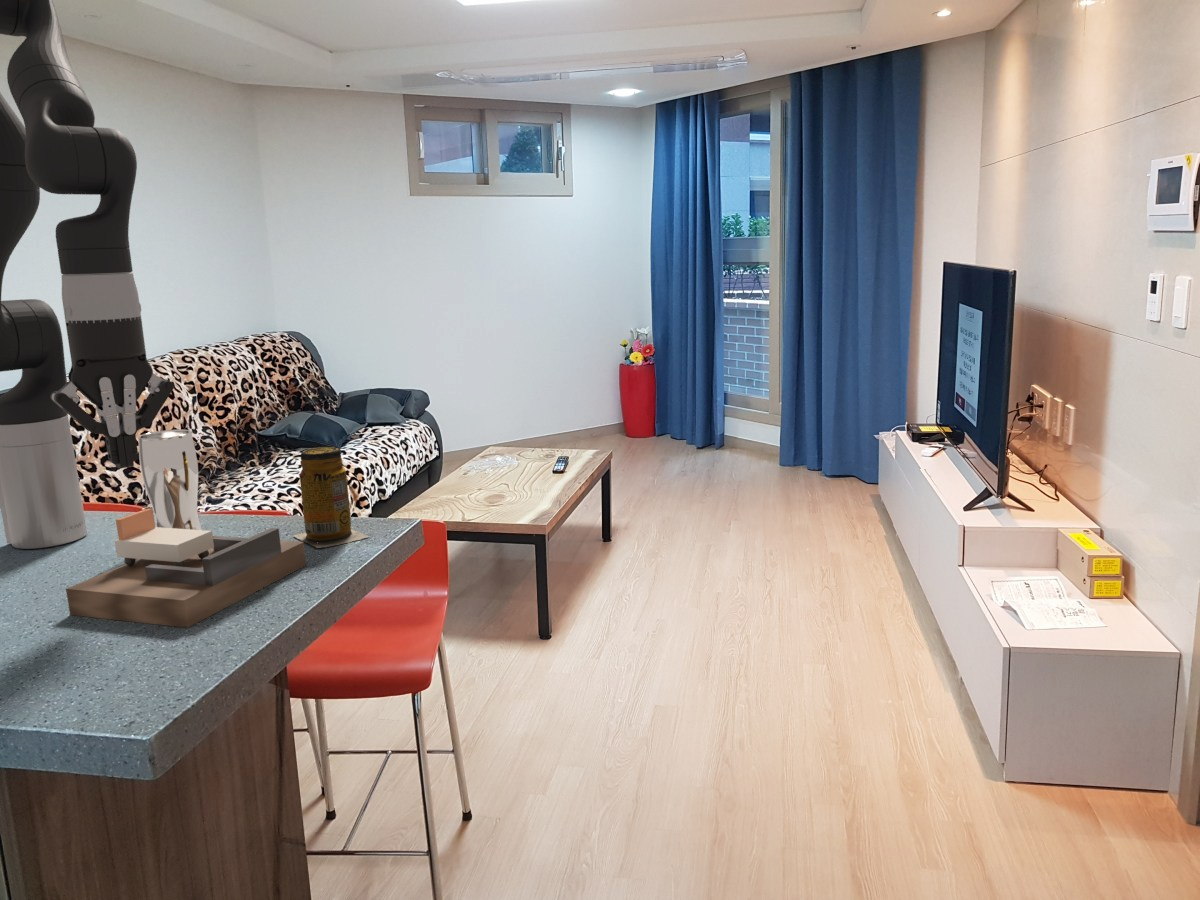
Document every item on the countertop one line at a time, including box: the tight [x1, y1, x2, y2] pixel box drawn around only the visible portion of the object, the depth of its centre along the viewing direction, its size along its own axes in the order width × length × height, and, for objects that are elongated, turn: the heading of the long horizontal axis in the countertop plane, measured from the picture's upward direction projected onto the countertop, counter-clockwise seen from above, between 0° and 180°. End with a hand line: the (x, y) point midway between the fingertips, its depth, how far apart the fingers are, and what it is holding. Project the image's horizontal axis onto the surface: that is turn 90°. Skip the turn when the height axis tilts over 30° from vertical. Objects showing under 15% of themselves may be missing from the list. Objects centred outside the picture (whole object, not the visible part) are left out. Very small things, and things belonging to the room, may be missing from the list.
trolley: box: [114, 507, 214, 567], centre depth 109 cm, size 9×6×6 cm, turn 71°
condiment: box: [292, 446, 370, 549], centre depth 126 cm, size 7×8×12 cm
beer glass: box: [137, 429, 203, 530], centre depth 126 cm, size 7×7×15 cm
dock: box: [65, 527, 307, 629], centre depth 108 cm, size 16×20×6 cm
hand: (124, 466), depth 108 cm, fingers closed
